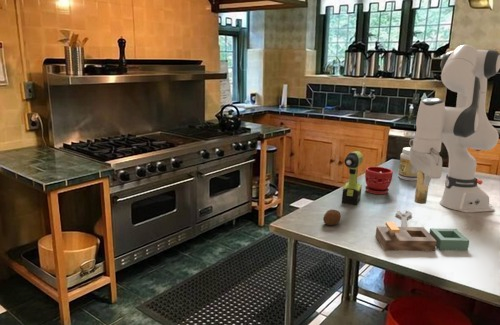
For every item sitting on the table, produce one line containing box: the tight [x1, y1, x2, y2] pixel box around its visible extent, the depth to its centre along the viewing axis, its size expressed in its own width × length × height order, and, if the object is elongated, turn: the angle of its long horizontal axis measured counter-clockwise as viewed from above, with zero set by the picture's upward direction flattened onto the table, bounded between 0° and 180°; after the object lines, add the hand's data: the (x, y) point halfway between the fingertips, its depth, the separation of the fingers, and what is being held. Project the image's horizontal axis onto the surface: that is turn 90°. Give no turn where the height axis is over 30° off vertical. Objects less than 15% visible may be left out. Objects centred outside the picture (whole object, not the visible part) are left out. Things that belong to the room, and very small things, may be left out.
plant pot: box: [364, 166, 394, 195], centre depth 207 cm, size 13×13×12 cm
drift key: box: [385, 221, 400, 236], centre depth 151 cm, size 3×7×6 cm, turn 178°
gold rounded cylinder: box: [414, 169, 429, 205], centre depth 146 cm, size 4×4×12 cm
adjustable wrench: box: [395, 210, 413, 227], centre depth 169 cm, size 25×6×2 cm, turn 156°
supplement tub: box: [397, 146, 417, 182], centre depth 230 cm, size 12×12×17 cm
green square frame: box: [428, 227, 470, 252], centre depth 151 cm, size 10×10×4 cm
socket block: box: [375, 225, 437, 252], centre depth 151 cm, size 18×12×4 cm, turn 88°
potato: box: [322, 208, 342, 226], centre depth 168 cm, size 7×10×6 cm
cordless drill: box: [341, 150, 364, 206], centre depth 188 cm, size 23×7×25 cm, turn 155°
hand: (422, 183), depth 145 cm, fingers closed on gold rounded cylinder, 4 cm apart
